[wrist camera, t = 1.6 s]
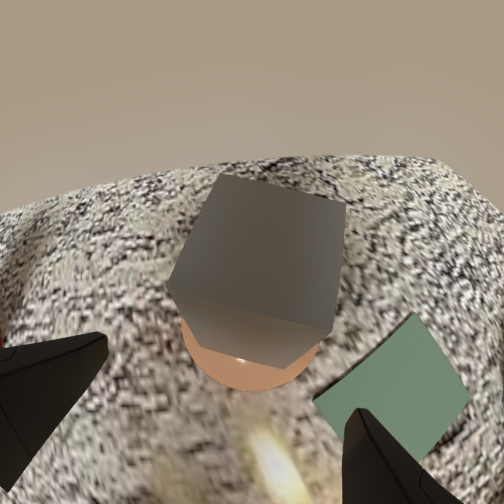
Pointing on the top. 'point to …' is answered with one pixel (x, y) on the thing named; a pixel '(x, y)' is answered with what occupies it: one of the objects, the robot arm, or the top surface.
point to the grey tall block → (260, 271)
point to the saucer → (242, 367)
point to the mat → (401, 390)
